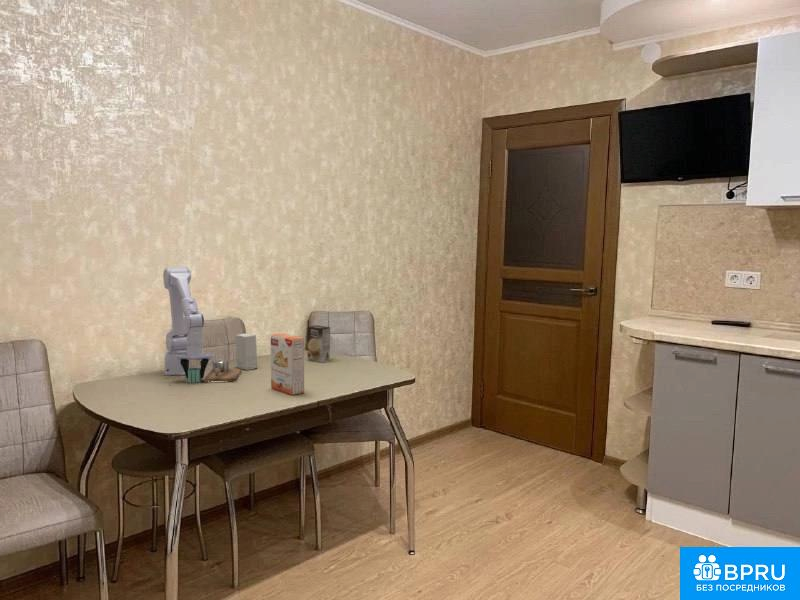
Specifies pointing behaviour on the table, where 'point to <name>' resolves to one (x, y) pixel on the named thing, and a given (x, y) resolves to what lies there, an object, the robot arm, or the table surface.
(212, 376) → the gear board
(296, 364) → the cracker box
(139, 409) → the table surface
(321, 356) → the coffee box
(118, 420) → the table surface
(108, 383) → the table surface
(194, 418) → the table surface
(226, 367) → the fixed gear
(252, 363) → the skincare box
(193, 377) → the green grooved hollow block
